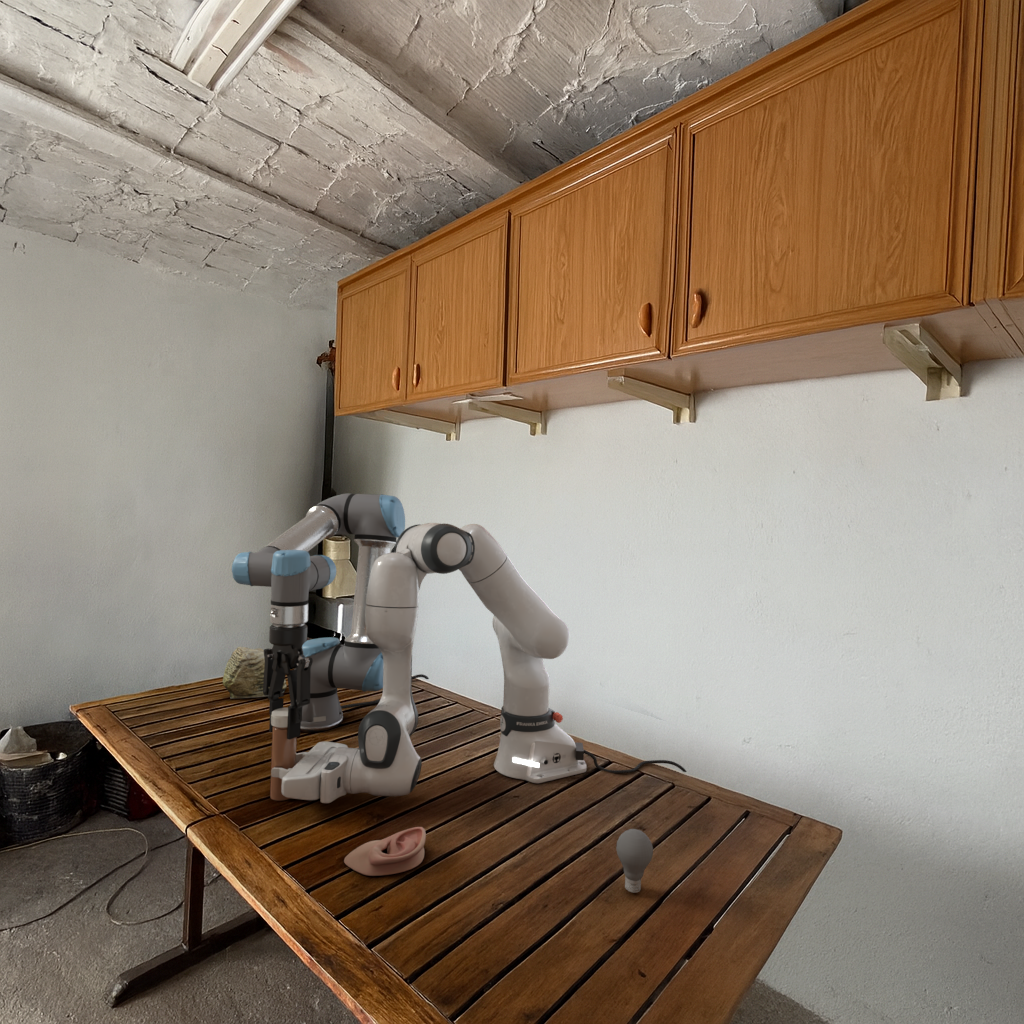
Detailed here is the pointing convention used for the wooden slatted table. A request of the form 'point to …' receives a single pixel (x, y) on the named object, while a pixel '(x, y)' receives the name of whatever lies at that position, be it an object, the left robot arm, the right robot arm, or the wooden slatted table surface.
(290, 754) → the brown bottle
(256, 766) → the wooden slatted table surface
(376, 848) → the anatomical model
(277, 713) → the lid
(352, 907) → the wooden slatted table surface
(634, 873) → the light bulb
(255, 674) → the fossil
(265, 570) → the left robot arm
